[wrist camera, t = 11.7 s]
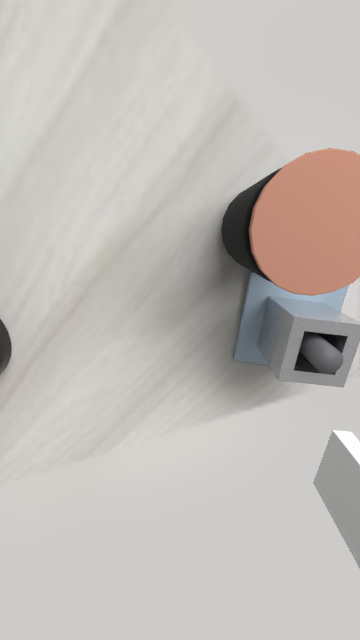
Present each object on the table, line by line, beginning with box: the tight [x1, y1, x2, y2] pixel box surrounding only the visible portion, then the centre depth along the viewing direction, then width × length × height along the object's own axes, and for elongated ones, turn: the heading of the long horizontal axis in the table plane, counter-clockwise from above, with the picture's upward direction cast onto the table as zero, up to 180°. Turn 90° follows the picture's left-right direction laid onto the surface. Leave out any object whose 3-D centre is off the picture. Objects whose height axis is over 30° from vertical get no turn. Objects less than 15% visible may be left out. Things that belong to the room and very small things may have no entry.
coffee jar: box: [222, 148, 360, 296], centre depth 29 cm, size 11×11×18 cm
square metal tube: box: [257, 296, 360, 387], centre depth 36 cm, size 8×8×10 cm
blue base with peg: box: [233, 272, 349, 374], centre depth 36 cm, size 14×14×13 cm
